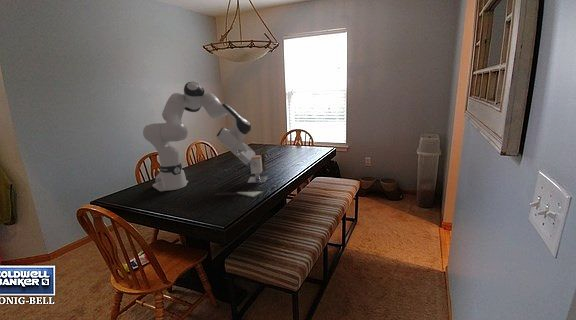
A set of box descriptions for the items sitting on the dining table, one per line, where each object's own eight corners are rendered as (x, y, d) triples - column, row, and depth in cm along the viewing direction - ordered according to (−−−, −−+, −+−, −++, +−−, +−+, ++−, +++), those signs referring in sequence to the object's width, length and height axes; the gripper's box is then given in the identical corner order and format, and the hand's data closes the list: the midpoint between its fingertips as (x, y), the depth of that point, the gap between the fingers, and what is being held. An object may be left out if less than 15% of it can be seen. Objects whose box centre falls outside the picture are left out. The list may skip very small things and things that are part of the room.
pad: (237, 193, 155) (237, 191, 155) (252, 186, 165) (252, 185, 164) (253, 197, 148) (253, 195, 148) (268, 190, 158) (267, 188, 157)
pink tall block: (251, 173, 169) (249, 157, 167) (252, 171, 175) (251, 155, 173) (261, 173, 169) (259, 157, 166) (262, 170, 175) (261, 154, 172)
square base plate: (247, 184, 169) (246, 174, 167) (250, 178, 180) (249, 169, 178) (265, 183, 168) (264, 173, 167) (267, 178, 179) (267, 168, 177)
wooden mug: (261, 174, 188) (259, 147, 183) (251, 170, 198) (248, 145, 193) (272, 171, 193) (270, 145, 189) (261, 167, 203) (259, 143, 199)
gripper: (239, 148, 158) (257, 165, 160) (246, 142, 178) (262, 156, 180) (232, 156, 160) (250, 172, 161) (240, 149, 179) (256, 163, 181)
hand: (257, 164), depth 171 cm, fingers closed on pink tall block, 6 cm apart
